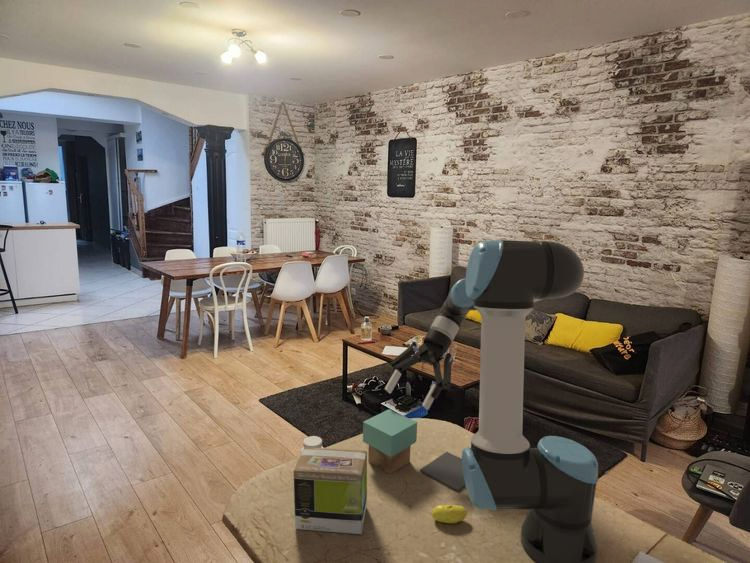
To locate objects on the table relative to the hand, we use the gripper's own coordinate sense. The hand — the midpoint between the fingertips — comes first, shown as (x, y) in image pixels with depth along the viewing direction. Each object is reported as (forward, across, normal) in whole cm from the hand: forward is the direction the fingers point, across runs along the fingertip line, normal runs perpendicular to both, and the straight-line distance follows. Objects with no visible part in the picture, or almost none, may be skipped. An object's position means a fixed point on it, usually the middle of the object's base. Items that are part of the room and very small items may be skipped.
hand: (405, 399), depth 136 cm
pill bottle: (+30, +7, +8) cm, 32 cm away
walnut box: (+16, -1, -6) cm, 17 cm away
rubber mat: (+10, -16, -12) cm, 22 cm away
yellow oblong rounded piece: (+22, -26, -1) cm, 34 cm away
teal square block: (+12, -1, -2) cm, 12 cm away
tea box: (+34, -7, +12) cm, 37 cm away
